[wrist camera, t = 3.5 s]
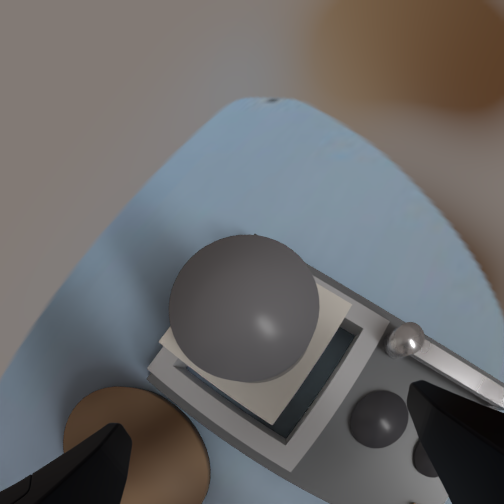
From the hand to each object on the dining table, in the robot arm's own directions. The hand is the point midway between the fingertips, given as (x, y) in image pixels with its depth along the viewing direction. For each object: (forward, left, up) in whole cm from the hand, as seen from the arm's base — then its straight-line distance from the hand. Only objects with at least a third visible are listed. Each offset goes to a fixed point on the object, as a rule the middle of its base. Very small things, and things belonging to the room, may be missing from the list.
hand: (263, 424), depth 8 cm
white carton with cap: (+2, -2, -11) cm, 12 cm away
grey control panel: (-3, -2, -11) cm, 12 cm away
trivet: (+5, +10, -11) cm, 16 cm away
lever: (-8, -7, -11) cm, 16 cm away
